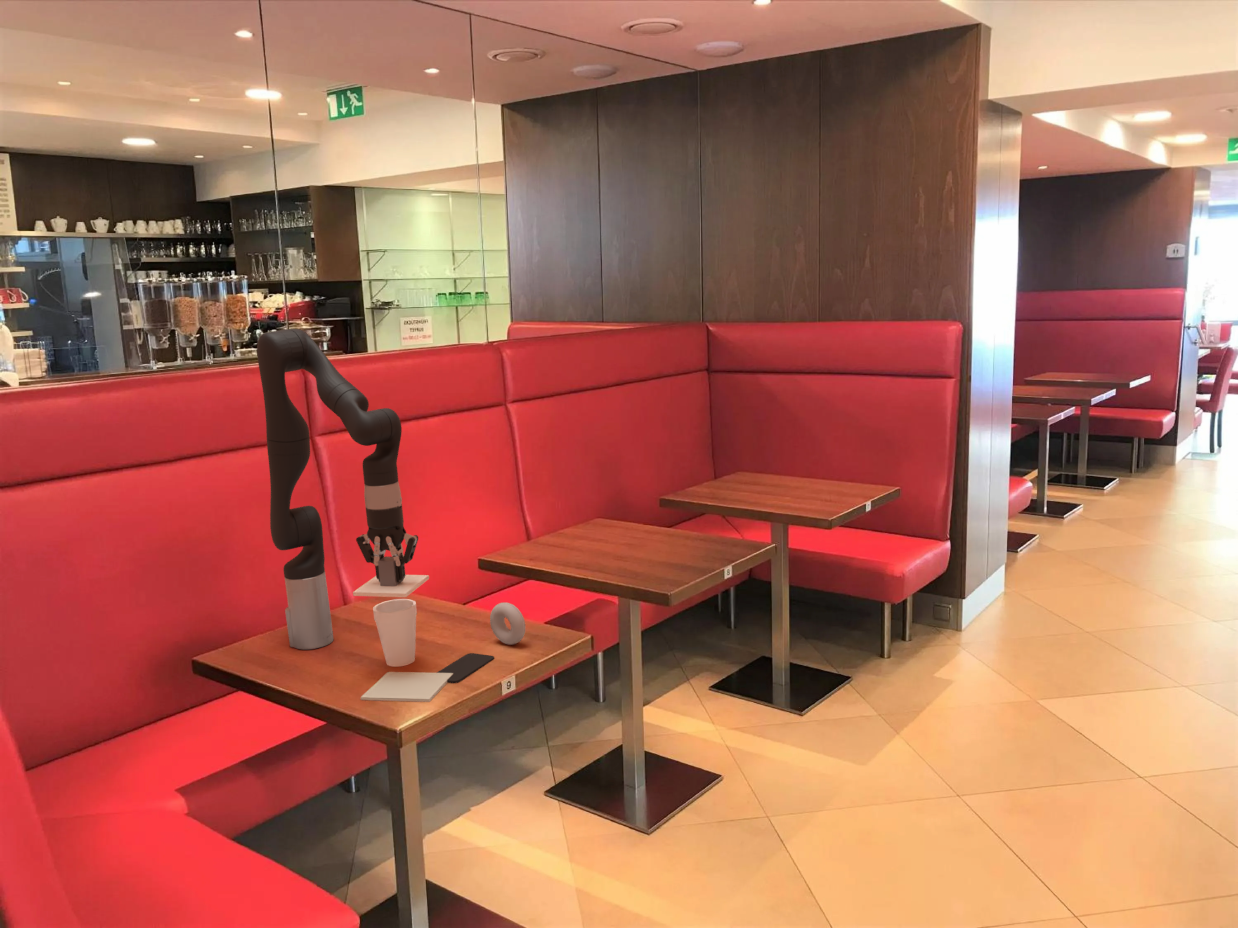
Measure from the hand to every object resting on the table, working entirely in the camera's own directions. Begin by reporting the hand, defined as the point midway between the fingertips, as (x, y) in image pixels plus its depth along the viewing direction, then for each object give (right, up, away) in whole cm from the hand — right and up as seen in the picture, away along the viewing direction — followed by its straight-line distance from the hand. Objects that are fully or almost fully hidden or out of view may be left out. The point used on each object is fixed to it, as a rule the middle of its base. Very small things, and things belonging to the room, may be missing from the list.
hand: (391, 580), depth 208 cm
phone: (+15, -20, +2) cm, 25 cm away
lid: (0, -1, 0) cm, 1 cm away
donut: (+24, -17, +15) cm, 33 cm away
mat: (+5, -22, -6) cm, 23 cm away
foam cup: (0, -19, +9) cm, 21 cm away
